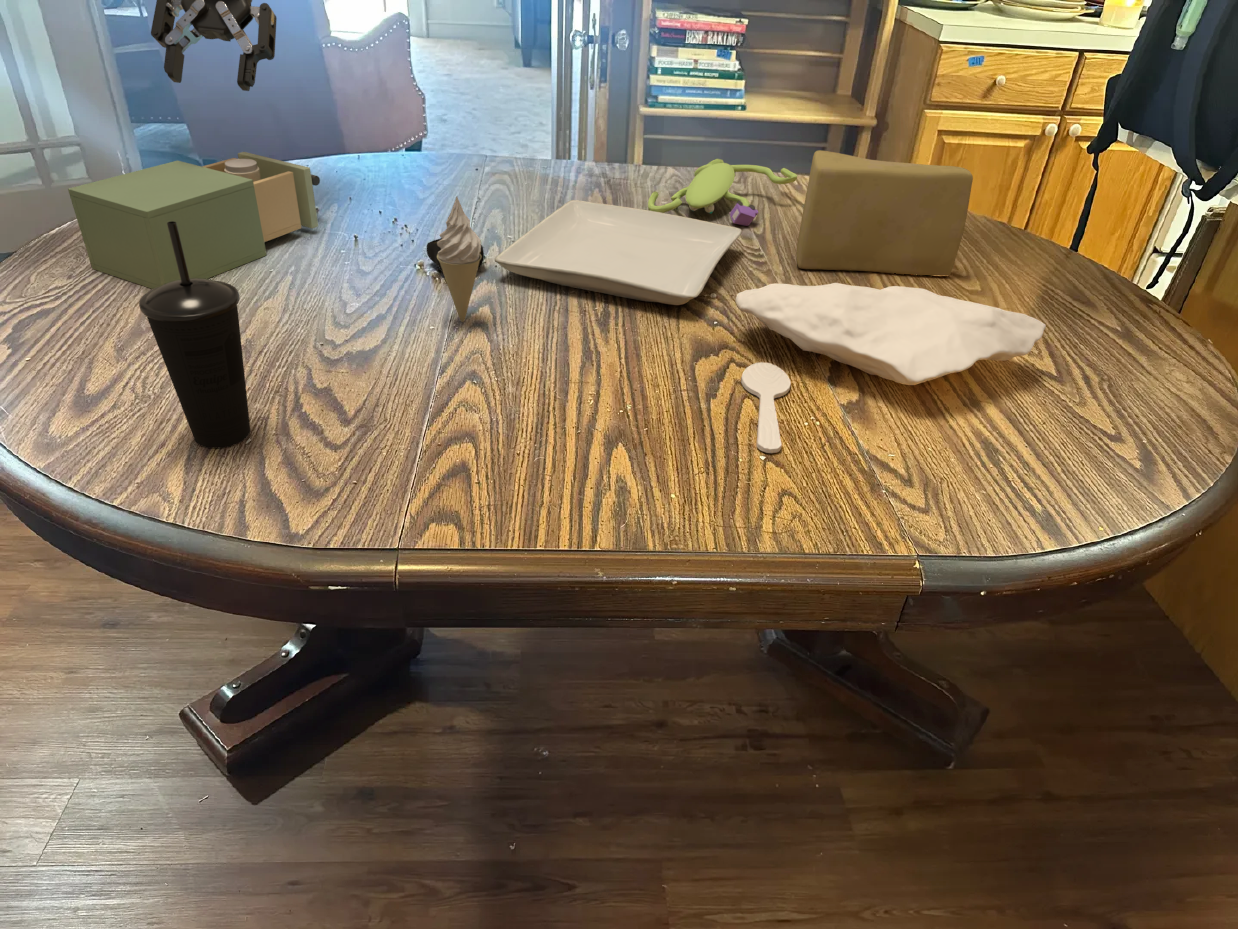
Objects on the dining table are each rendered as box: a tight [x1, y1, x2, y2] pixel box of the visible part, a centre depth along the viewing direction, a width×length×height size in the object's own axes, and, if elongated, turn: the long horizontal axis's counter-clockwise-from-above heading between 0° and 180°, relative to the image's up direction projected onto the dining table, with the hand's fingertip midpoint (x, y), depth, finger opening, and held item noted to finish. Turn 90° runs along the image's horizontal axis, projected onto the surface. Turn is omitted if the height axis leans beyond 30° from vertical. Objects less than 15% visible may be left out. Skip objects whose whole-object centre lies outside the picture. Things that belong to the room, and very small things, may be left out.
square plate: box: [494, 199, 742, 306], centre depth 118 cm, size 27×27×4 cm
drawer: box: [201, 151, 321, 243], centre depth 118 cm, size 19×12×8 cm, turn 153°
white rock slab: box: [735, 282, 1047, 386], centre depth 97 cm, size 24×35×9 cm
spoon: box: [740, 361, 791, 454], centre depth 89 cm, size 5×18×1 cm, turn 173°
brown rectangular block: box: [795, 149, 974, 276], centre depth 120 cm, size 22×10×15 cm, turn 81°
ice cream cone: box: [437, 195, 482, 323], centre depth 97 cm, size 5×5×15 cm
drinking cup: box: [138, 221, 251, 449], centre depth 73 cm, size 8×8×20 cm
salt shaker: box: [224, 158, 261, 182], centre depth 117 cm, size 4×4×8 cm
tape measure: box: [426, 237, 485, 273], centre depth 113 cm, size 7×7×4 cm
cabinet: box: [67, 160, 267, 290], centre depth 108 cm, size 16×14×10 cm
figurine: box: [647, 158, 798, 227], centre depth 143 cm, size 18×27×6 cm
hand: (208, 83), depth 106 cm, fingers open, 8 cm apart
